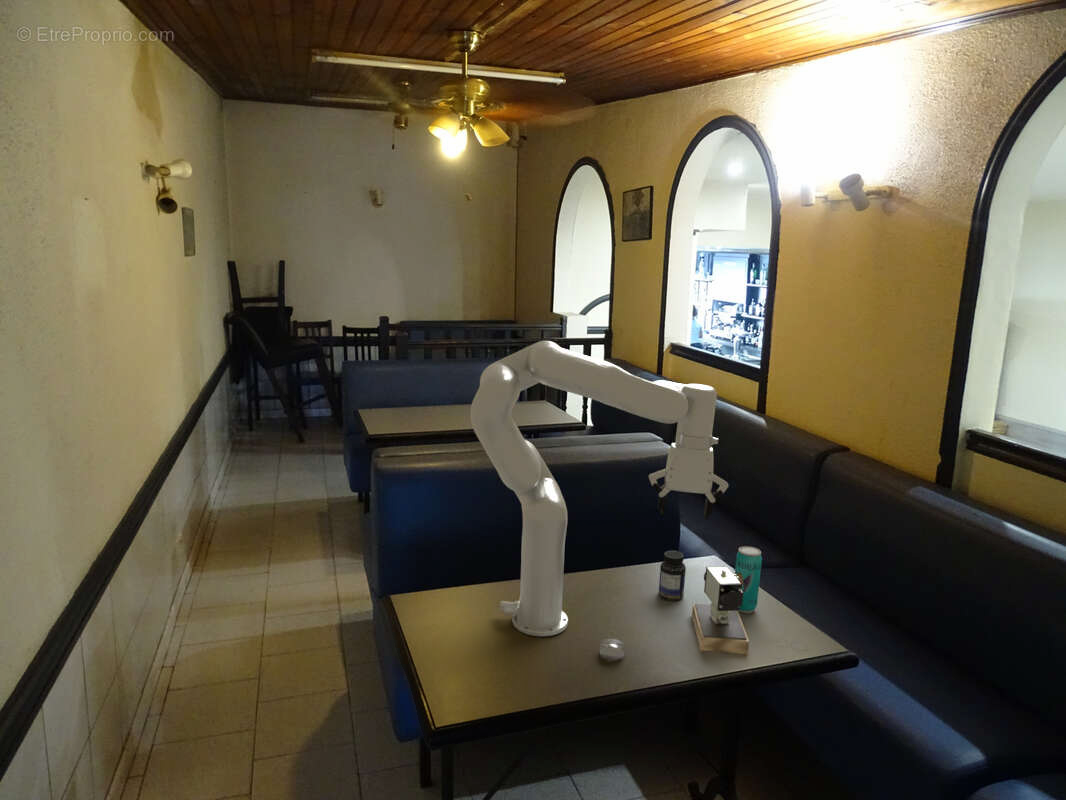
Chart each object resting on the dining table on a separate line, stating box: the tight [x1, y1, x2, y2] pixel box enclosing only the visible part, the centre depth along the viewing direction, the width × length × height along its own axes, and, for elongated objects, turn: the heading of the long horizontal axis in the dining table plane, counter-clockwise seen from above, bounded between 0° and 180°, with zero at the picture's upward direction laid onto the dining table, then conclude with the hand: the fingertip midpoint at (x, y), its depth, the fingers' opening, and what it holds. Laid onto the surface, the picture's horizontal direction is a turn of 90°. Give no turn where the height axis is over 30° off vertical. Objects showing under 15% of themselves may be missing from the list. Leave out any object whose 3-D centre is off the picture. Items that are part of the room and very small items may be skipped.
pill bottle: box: [658, 550, 687, 602], centre depth 180 cm, size 6×6×11 cm
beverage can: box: [734, 545, 763, 614], centre depth 174 cm, size 6×6×15 cm
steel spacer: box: [599, 638, 625, 662], centre depth 154 cm, size 5×5×2 cm
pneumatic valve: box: [703, 565, 743, 624], centre depth 162 cm, size 6×12×12 cm, turn 7°
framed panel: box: [691, 603, 750, 655], centre depth 164 cm, size 10×15×3 cm, turn 175°
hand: (684, 515), depth 163 cm, fingers open, 9 cm apart
